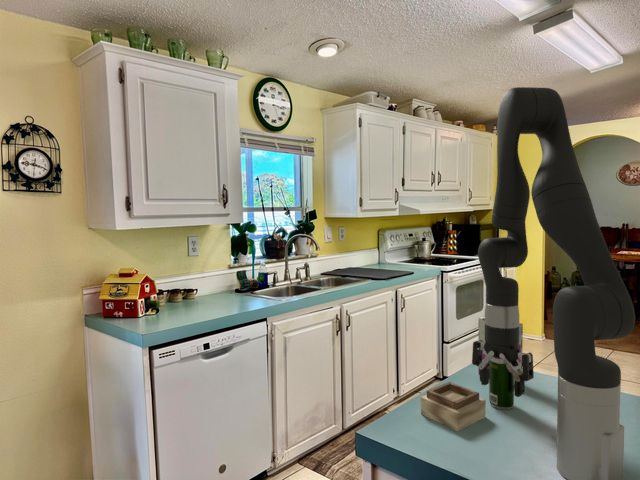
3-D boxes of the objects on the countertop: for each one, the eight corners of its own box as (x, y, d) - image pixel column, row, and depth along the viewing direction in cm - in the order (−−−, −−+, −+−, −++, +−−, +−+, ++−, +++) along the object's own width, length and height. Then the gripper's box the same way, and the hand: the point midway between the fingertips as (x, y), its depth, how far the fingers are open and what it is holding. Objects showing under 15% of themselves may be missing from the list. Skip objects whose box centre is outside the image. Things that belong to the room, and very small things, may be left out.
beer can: (504, 412, 100) (505, 361, 99) (484, 404, 104) (484, 355, 104) (518, 406, 103) (519, 356, 102) (498, 398, 107) (498, 350, 107)
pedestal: (485, 417, 98) (485, 393, 98) (457, 431, 92) (457, 405, 92) (448, 401, 106) (448, 379, 106) (420, 414, 100) (420, 390, 100)
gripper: (540, 326, 99) (539, 395, 100) (483, 314, 110) (483, 376, 112) (522, 332, 94) (521, 405, 96) (465, 319, 106) (465, 384, 107)
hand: (501, 389), depth 104 cm, fingers open, 8 cm apart
